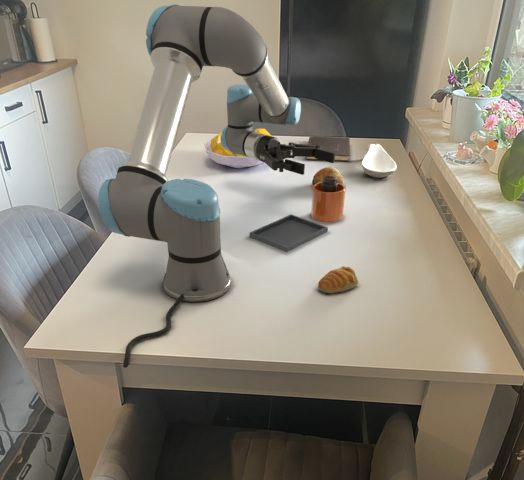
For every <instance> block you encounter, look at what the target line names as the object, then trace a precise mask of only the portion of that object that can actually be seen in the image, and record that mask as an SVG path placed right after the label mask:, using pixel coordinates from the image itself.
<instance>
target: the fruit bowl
mask: <svg viewBox="0 0 524 480" xmlns="http://www.w3.org/2000/svg"><path fill="white" fill-rule="evenodd" d="M253 131H254V132H258V133H262V134H265V135H269V136H272V134H270V133H269V132H268V130H267V129H266V128H264V127H263V128H261V127H259V128H256V129H254V130H253ZM221 135H222V131H221V132H220V133H218V134H217V135H215V136H214V137H212V138H211V139H210V140H209V141H207V142H205V143H203V145H204V149H205V153H206V155H207V157H209V158H210V159H211V160H212V161H214V162H215V163H216V164H220V165H223V166H227V167H231V168H234V169H243V168H248V167H249V168H250V167H255V166H260V165H262V164H265V163H264V162H262V161H260V160H257V161H255V159H253V158H250V157H247V156H243V155H239V154H235V153H232V152H230V151H228V150H226V149H224V148H223V146H222V144H221V140H220V138H221Z"/></svg>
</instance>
